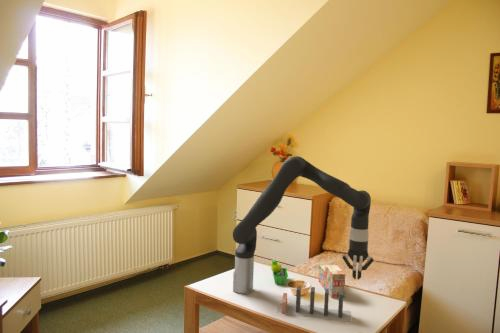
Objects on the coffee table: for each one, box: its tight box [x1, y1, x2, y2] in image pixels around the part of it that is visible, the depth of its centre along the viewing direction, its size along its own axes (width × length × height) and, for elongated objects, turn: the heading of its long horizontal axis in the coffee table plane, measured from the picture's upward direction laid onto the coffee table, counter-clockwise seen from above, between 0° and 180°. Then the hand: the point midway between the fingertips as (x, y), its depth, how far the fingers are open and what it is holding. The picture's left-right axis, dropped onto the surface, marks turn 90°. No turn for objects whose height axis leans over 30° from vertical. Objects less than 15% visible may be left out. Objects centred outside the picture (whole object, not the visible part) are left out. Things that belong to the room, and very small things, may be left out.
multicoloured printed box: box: [318, 264, 346, 299], centre depth 195 cm, size 21×6×12 cm, turn 7°
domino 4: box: [323, 288, 330, 316], centre depth 168 cm, size 2×5×10 cm, turn 168°
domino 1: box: [281, 292, 288, 315], centre depth 172 cm, size 2×5×10 cm
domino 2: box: [295, 285, 302, 313], centre depth 171 cm, size 2×5×10 cm, turn 168°
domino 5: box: [337, 290, 344, 318], centre depth 167 cm, size 2×5×10 cm, turn 168°
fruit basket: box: [270, 259, 289, 285], centre depth 205 cm, size 11×9×11 cm
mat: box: [277, 302, 352, 323], centre depth 170 cm, size 31×10×1 cm, turn 78°
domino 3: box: [309, 286, 316, 314], centre depth 170 cm, size 2×5×10 cm, turn 168°
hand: (356, 278), depth 165 cm, fingers closed
